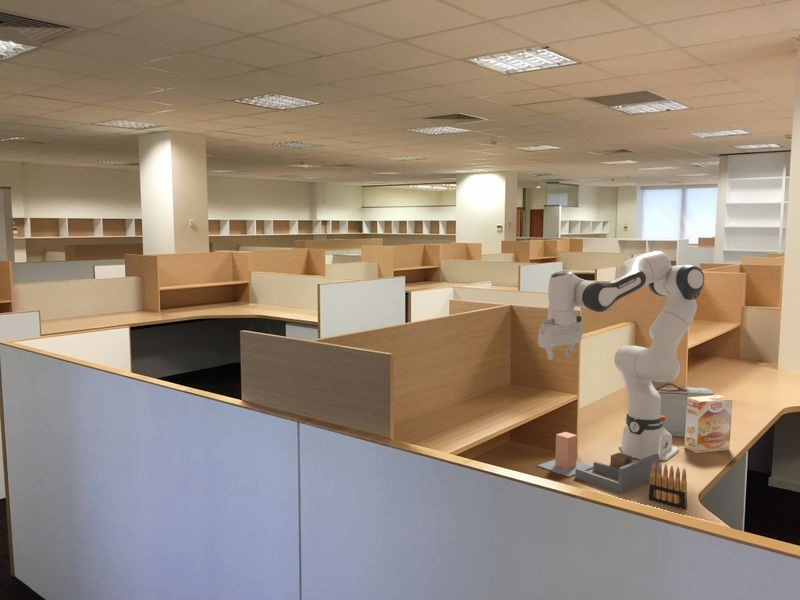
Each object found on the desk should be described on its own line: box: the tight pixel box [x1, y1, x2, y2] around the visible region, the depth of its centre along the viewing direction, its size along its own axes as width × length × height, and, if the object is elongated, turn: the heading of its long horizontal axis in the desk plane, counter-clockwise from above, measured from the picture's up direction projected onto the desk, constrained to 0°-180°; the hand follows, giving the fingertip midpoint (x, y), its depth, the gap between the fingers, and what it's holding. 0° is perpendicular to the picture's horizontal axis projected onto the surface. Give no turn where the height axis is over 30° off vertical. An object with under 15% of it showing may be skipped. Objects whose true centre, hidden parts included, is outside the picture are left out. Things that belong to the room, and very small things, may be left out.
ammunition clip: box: [647, 462, 688, 511], centre depth 196 cm, size 11×2×12 cm, turn 49°
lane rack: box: [574, 454, 660, 495], centre depth 216 cm, size 21×17×8 cm
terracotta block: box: [554, 431, 578, 470], centre depth 226 cm, size 5×5×11 cm
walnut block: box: [609, 452, 633, 469], centre depth 221 cm, size 5×5×6 cm
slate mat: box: [537, 459, 594, 478], centre depth 227 cm, size 14×13×1 cm
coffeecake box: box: [684, 394, 733, 454], centre depth 245 cm, size 15×7×20 cm, turn 106°
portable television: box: [654, 382, 714, 437], centre depth 265 cm, size 12×24×30 cm, turn 78°
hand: (559, 357), depth 229 cm, fingers open, 8 cm apart
